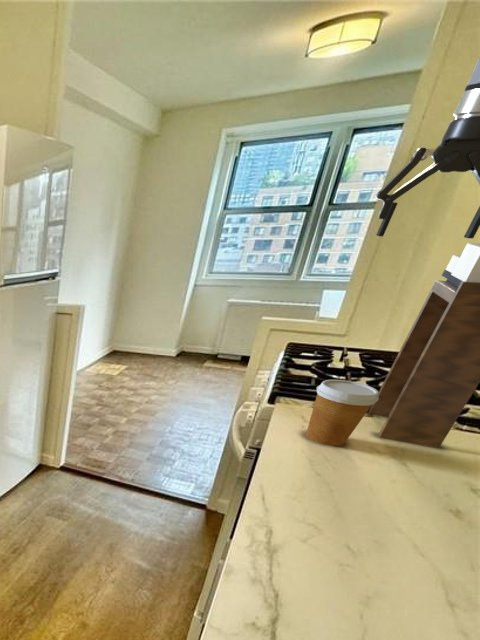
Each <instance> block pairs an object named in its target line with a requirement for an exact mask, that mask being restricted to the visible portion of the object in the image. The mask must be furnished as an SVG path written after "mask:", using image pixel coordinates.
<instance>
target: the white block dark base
mask: <svg viewBox="0 0 480 640" xmlns="http://www.w3.org/2000/svg"><path fill="white" fill-rule="evenodd" d="M441 277H443V278H445V279H446V280H445V281H447V282H449V283H451V284H453V285H454V286H456V287H459V285H460V283H461V281H468V282H480V243H477V242H476V243H475V242H467V243H466V245H465V247H464V249H463V251H462V253H461V254H453V255H451V258H450V260H449V262H448V264H447V266H446V267H445V269H443V272H442V274H441Z"/></svg>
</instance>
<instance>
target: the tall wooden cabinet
mask: <svg viewBox="0 0 480 640" xmlns="http://www.w3.org/2000/svg"><path fill="white" fill-rule="evenodd" d="M479 384H480V282H468V281H461V283H460V285H459V287H456V286H454V285H453V284H451V283H449V282H447V281H446V280H435V281H434V283H433V285H432V287H431V289H430V291H429V293H428V295H427V297H426V298H425V301H424V303H423V304H422V306H421V308H420V310H419V312H418V314H417V317H416V319H415V320H414V322H413V324H412V326H411V328H410V330H409V332H408V335H407V336H406V338H405V340H404V342H403V343H402V345H401V347H400V349H399V351H398V353H397V355H396V357H395V359H394V361H393V363H392V365H391V367H390V369H389V371H388V372H387V375H386V377H385V379H384V380H383V383H382V385H381V386H380V389H379V390H378V398H379V399H378V401H377V402H375V403H374V404H372V406H371V407H370V408H369V410H368V414H369V415H373V416H380V417H386V419H385V421H384V424H383V425H382V427H381V429H380V431H379V432H378V437H379V438H380V439H386V440H391V441H397V442H403V443H408V444H413V445H419V446H424V447H428V448H429V447H430V448H433V449H434V448H435V449H440V448H441V446H442V445H443V443H444V441H445V440H446V438H447V436H448V434H449V433H450V431H451V430H452V428H453V427H454V425H455V423H456V421H457V420H458V418H459V417H460V415H461V414H462V411H463V410H464V408H465V407H466V406H467V403H468V402H469V400H470V399H471V397H472V395H473V394H474V392H475V390H476V389H477V387H478V386H479Z"/></svg>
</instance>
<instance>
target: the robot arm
mask: <svg viewBox="0 0 480 640" xmlns="http://www.w3.org/2000/svg"><path fill="white" fill-rule="evenodd" d="M470 75H471V76H470V77H469V80H468V82H467V84H466V86H465V89H464V91H463V92H462V95H461V97H460V99H459V101H458V103H457V106H456V108H455V110H454V112H453V114H452V115H453V116H454V117H455V119H452V120H451V121H449V123H448V126H447V128H446V129H445V132H444V134H443V135H442V136H443V137H442V139H441V141H440V143H439V145H438V146H436V148H426V147H420V148H417V149H415V151H414V152H413V154H412V156H411V158H410V160H409V161H408V162H407V163H405V165H404V166H402V168H400V170H399V171H397V172H396V174H395V175H394V176H393V177H392V178H391V179H390V180H389V181H388V182H386V184H384V186H382V187H381V188H380V190H379V191H378V192H377V193H376V194H375V195H374V198H375V199H377V200H380V201H382V206H381V208H380V211H379V213H378V215H377V219H378V220H382V221H381V223H380V225H379V227H378V230H377V232H376V234H375V235H376V236H377V237H384V235H385V233H386V231H387V228H388V227H389V224H390V222H391V219H392V217H393V215H394V213H395V210H396V208H397V206H398V202H395V201H396V200H397V199H399V198H400V197H402V196H403V195H404V194H406V193H408V192H409V191H410V190H412V189H414V187H416V186H417V185H419V184H420V183H422V182H423V181H425V180H426V179H427V178H429V177H430V176H432V175H435V174H436V173H437V172H439V173H452V172H455V173H466V172H469V171H470V172H471V174H473V176H474V178H475V179H476V181H477V183H478V185H480V56H478V59H477V61H476V63H475V66H474V69H473V70H472V73H471V74H470ZM429 156H430V157H431V158H432V161H433V163H432V164H431V165H429V166H428V167H426V168H425V169H424V170H422V172H420V173H418V174H417V175H416V176H414V177H413V178H412V179H410V180H409V181H407V182H405V183H404V184H403V185H401V186H400V187H398V188H397V189H395V190H394V191H393V192H392V193H390V192H391V191H392V190H393V189H394V188H395V187H396V186H397V185H398V184H399V183H400V182H401V181H402V180H403V179H404V178H406V176H407V175H408V174H410V172H411V171H412V170H414V168H416V166H417V165H418V164H419V163H420V162H421V161H422V162H423V161H425V160H426V159H427V158H429ZM389 193H390V194H389ZM479 228H480V205H479V206H478V208H477V210H476V212H475V214H474V216H473V218H472V220H471V222H470V224H469V226H468V227H467V229H466V232H465V234H464V236H463V238H465V239H474V238H475V236H476V235H477V232H478V230H479Z"/></svg>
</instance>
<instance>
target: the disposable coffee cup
mask: <svg viewBox="0 0 480 640" xmlns="http://www.w3.org/2000/svg"><path fill="white" fill-rule="evenodd" d="M378 392H379V390H378V389H376V388H375V387H372V386H370V385H367V384H364V383H360V382H357V381H351V380H344V379H325V380H323V381H322V382H321V383H320V384H319V385H317V386H316V393H317V394H316V397H315V401H314V403H313V407H312V411H311V415H310V419H309V422H308V426H307V430H306V433H305V436H306V438H308V439H309V440H310V441H312V442H315V443H317V444H321V445H326V446H333V447H339V446H344V445H345V444H346V442H347V440H348V439H349V438H350V437H351V435H352V434H353V432H354V431H355V430H356V428H357V427H358V425H359V423H360V422H361V421H362V419H363V418H364V417H365V416H366V414H367V413H368V412H369V410H370V408H371V406H372V404H374V403H375V402H377V401H378V399H379V398H378Z"/></svg>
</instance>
